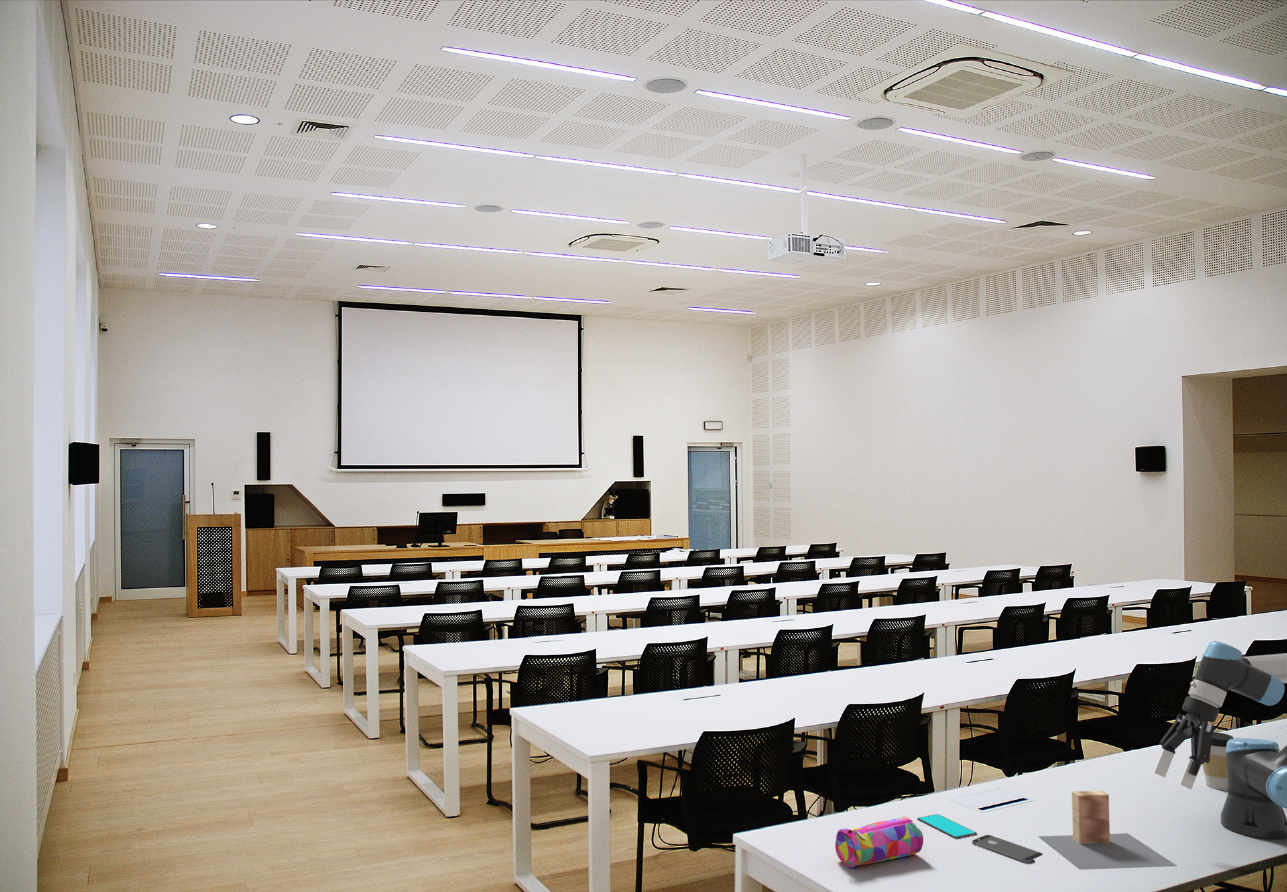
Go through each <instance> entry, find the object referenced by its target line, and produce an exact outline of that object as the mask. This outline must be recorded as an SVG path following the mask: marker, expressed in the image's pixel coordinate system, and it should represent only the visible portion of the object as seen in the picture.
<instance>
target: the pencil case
mask: <svg viewBox="0 0 1287 892" xmlns="http://www.w3.org/2000/svg"><path fill="white" fill-rule="evenodd" d="M923 846H924V834H923V832H922V830H921V829H920V828H919V827H918V826H917V825H916V823H914V822H913V820H912V819H911V818H909V817H907V816H903V817H900V818H892V819H890V820H882V821H881V820H880V821H876V822H872V823H869V824H866V825H863V826H859V827H856V828H840V829H838V831H837V833H836V836H835V853H836V855H837V857H838V859H839V860H840V862H841V863H843V864H844V866H846V867H847V868H851V869H852V868H855V867H857V866H864V865H870V864H875V863H879V862H884V861H890V860H895V859H899V858H904V857H909V856H914V855H916V854H918V853H920V852H921V850H923V849H922V848H923Z"/></svg>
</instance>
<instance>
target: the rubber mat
mask: <svg viewBox="0 0 1287 892" xmlns="http://www.w3.org/2000/svg"><path fill="white" fill-rule="evenodd" d="M1037 837H1038V838H1039V839H1041V841H1042V842H1044V843H1045V844H1046V845H1048V846H1049V847H1050V848H1052V849H1053V850H1054V851H1055V852H1057V853H1058V854H1059V855H1061V857H1063V858H1064V859H1066V860H1067V861H1068V862H1069V863H1070V864H1072V865H1073V866H1074V867H1076V868H1077V869H1079V870H1101V869H1103V870H1104V869H1105V870H1106V869H1124V868H1125V869H1131V868H1132V869H1133V868H1152V867H1153V868H1154V867H1155V868H1157V867H1158V868H1159V867H1160V868H1161V867H1178V864H1175V863H1174V862H1173V861H1171V860H1169V859H1168V858H1166V857H1165V856H1163V855H1161V854H1160V853H1159V852H1157V851H1156V850H1154V849H1152V848H1151V847H1149V846H1148V845H1146V844H1145V843H1143V842H1142V841H1140V840H1139V839H1137V838H1136V837H1134V836H1133V835H1131V834H1129V833H1126V832H1125V833H1110V843H1088V844H1079V843H1078V842H1076V841H1075V840H1073V834H1071V835H1070V834H1069V835H1067V834H1066V835H1065V834H1063V835H1043V836H1042V835H1040V836H1037Z"/></svg>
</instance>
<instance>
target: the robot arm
mask: <svg viewBox="0 0 1287 892" xmlns="http://www.w3.org/2000/svg"><path fill="white" fill-rule="evenodd" d="M1189 684H1190V687H1189V691H1188V696H1186V697H1185V699H1184V702H1183V704H1182V707H1181V708H1182V711H1185V712H1186V714H1185V715H1183V714H1181V713H1178V714H1177V716H1176V718H1175V720H1174V722H1173V723H1172V724H1171V726H1170V727H1169V729H1168V730H1167V732H1166V733H1165V734H1164V735H1163V737H1162V738H1161V739H1160V741H1159V745H1160V746H1161V748H1162V750H1161V752H1160V753H1159V754H1160V755H1159V757H1158V760H1157V762H1156V765H1155V767H1154V769H1153V773H1154V774H1157V775H1158V776H1160V777H1162V778H1166V776H1167V773H1168V771H1169V769H1170V766H1171V763H1172V761H1173V758H1174V757H1175V754H1176V750H1177V748H1178V747H1180V745H1181V744H1183V742H1185V741H1186V740H1187V739H1190V747H1191V749H1190V750H1191V755H1190V756H1189V757H1188V759H1187V763H1186V764H1185V767H1184V770H1183V773H1182V774H1181V778H1180V780H1179V782H1178V785H1180V786H1182V787H1185V788H1187V789H1189V790H1192V789H1193V786H1194V784H1195V782H1196V779H1197V776H1198V774H1199V771H1200V770H1201V767H1202V766H1203V764H1204V763H1209V761H1210V752H1211V743H1212V734H1213V732H1215V728H1216V727H1215V726H1216V725H1213V724H1211V723H1216V721H1217V718H1218V716H1219V713H1220V709H1219V708H1221V707H1222V706H1223V704H1224V701H1225V698H1226V696H1227V693H1228V691H1231V692H1233V693H1237V694H1239V695H1242V696H1245V697H1247V698H1249V699H1252V700H1253V701H1256V702H1257V703H1261V704H1263V705H1265V706H1274V705H1276V704H1278V703H1279V702H1280V701H1281V699H1282V698H1283V696H1284V693H1285V684H1287V653H1284V652H1283V653H1275V654H1264V655H1251V656H1250V655H1249V656H1243V651H1241V650H1240V649H1238V648H1236V647H1235V646H1232V645H1230V644H1227V643H1224V642H1221V641H1218V640H1217V641H1216V640H1213V641H1210V642H1209V643H1208V645H1207V647H1206V649H1205V650H1204V652H1203V654H1202V658H1201V660H1200V662H1199V665H1198V667H1197V669H1196V673H1195V676H1194V678H1193V680H1192V681H1191V682H1190V683H1189ZM1233 738H1234V737H1233ZM1204 756H1205V757H1204ZM1226 757H1227V786H1228V790H1227V795H1226V798H1225V801H1224V804H1223V808H1222V811H1221V813H1220V824H1221V826H1223V827H1224V828H1226V829H1228V830H1230V831H1232V832H1235V833H1238V834H1240V835H1243V836H1249V837H1254V838H1259V839H1271V840H1273V839H1275V840H1276V839H1284V838H1287V816H1286V814H1285V811H1284V809H1286V810H1287V744H1286V745H1285V746H1284V747H1283V748H1282V749H1281V750H1280V747H1279V744H1278V743H1277V742H1276V741H1273V740H1269V739H1262V738H1252V737H1251V738H1249V737H1237V738H1236V737H1235V738H1234V739H1230V740H1229V741H1228V742H1227V746H1226Z"/></svg>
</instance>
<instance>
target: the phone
mask: <svg viewBox="0 0 1287 892" xmlns="http://www.w3.org/2000/svg"><path fill="white" fill-rule="evenodd" d="M973 844H975V845H974V846H976V845H978V846H977V847H979V846H981V847H983V848H982V849H984V848H986V849H985V850H987V849H988V851H990V850H991V852H993V853H995V852H996V854H998V855H1002V856H1004V857H1007V858H1009V859H1012V860H1015V861H1018V862H1020V863H1022V864H1027V865H1028V864H1032V863H1035V862H1036V859H1037V858H1040V857H1041V856H1043V854H1044V853H1042V852H1040V851H1037V850H1034V849H1031V848H1028V847H1026V846H1023V845H1019V844H1018V843H1017V844H1016V843H1015V842H1012V841H1008V840H1006V839H1002V838H1000V837H996V836H994V835H991V834H985V835H983V836H979V837H978V838H975V839H972V841H971V845H973ZM981 847H980V848H981Z"/></svg>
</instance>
